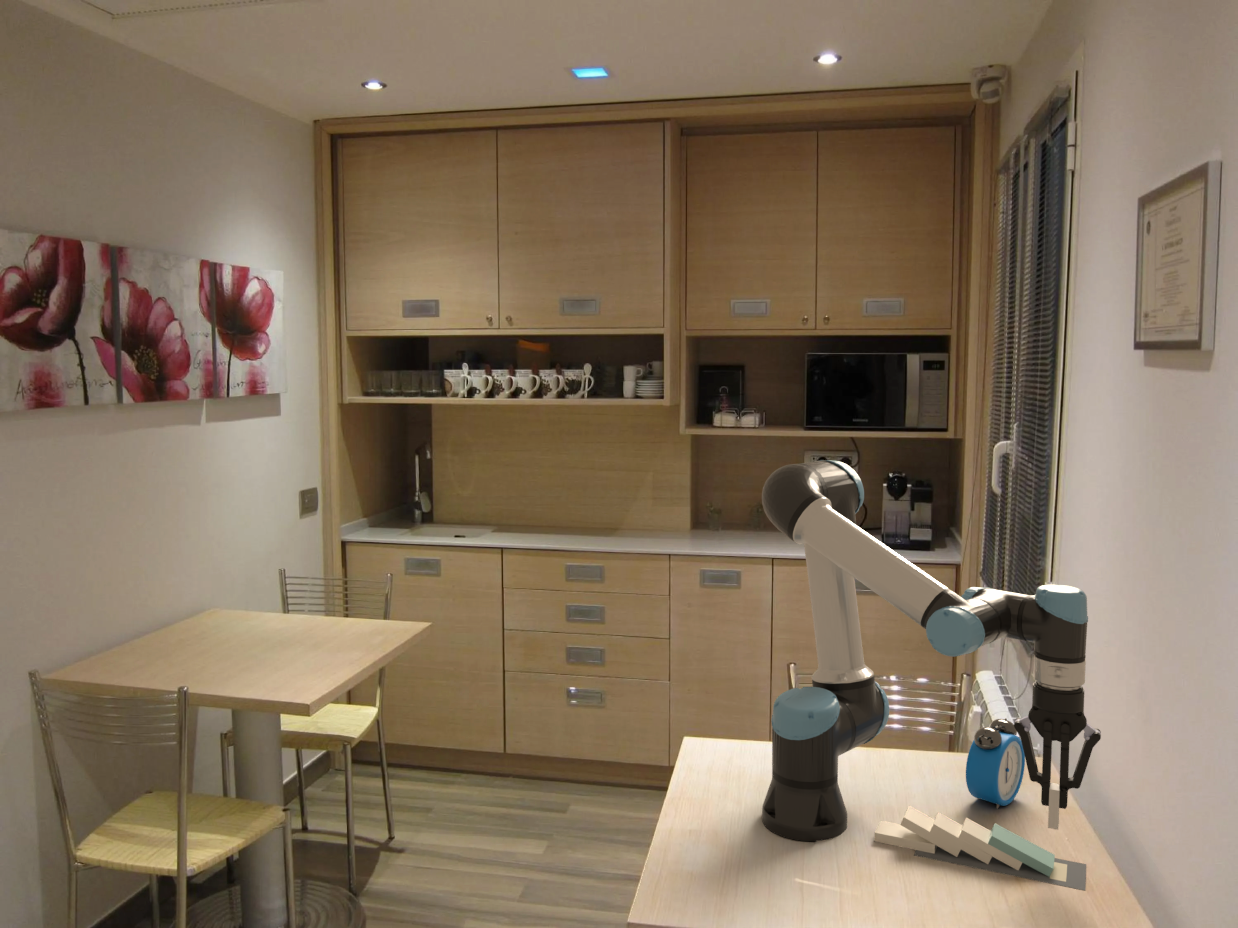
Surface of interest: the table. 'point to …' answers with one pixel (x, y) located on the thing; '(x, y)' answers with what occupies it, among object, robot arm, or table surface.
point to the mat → (1061, 875)
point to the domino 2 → (926, 829)
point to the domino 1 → (902, 837)
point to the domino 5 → (1022, 849)
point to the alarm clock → (995, 763)
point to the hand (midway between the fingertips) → (1053, 824)
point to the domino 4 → (985, 842)
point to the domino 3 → (956, 836)
